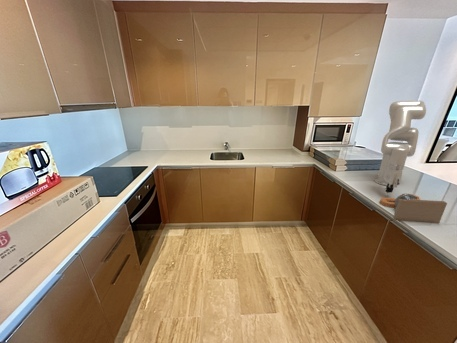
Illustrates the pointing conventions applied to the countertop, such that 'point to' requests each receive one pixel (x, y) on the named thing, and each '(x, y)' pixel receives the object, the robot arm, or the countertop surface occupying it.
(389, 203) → the bracket
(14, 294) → the countertop surface
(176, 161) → the countertop surface
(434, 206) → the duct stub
